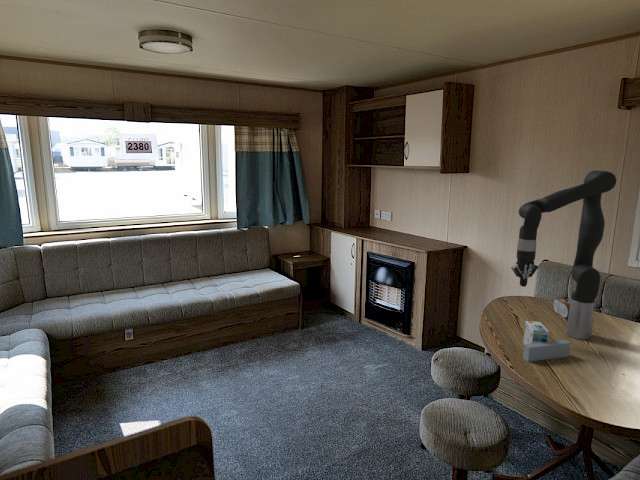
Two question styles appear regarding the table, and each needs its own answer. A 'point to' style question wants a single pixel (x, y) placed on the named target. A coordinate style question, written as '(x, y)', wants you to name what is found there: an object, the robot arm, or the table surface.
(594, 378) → the table surface
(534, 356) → the slate prism bar
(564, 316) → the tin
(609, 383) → the table surface
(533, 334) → the light bulb box
